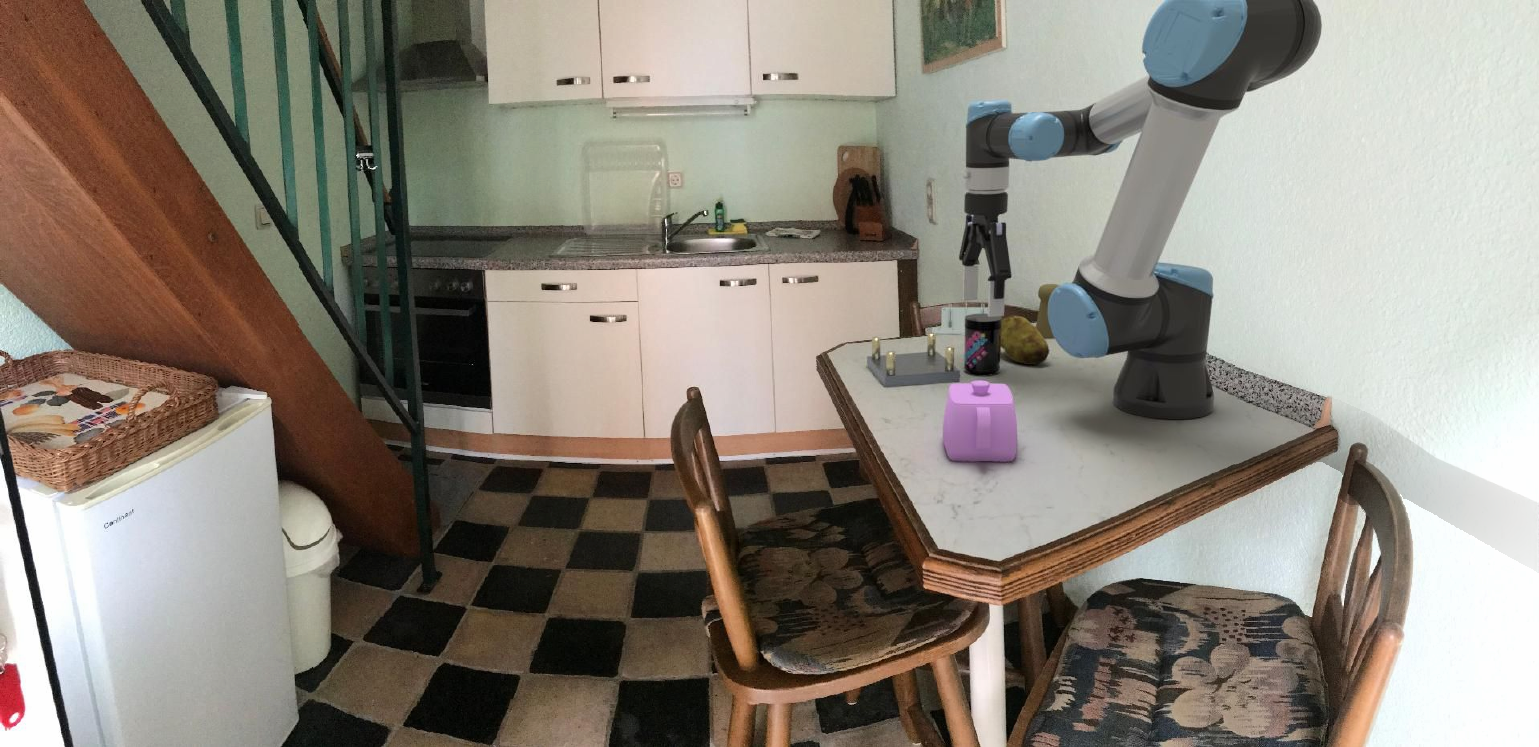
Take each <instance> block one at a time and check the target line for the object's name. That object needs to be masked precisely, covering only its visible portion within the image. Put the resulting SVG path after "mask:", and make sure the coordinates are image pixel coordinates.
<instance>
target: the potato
mask: <svg viewBox="0 0 1539 747" xmlns="http://www.w3.org/2000/svg"><path fill="white" fill-rule="evenodd" d="M1001 348H1002V349H1003V350H1004V353H1005V354H1006V356H1007V357H1008V358H1009V359H1010V360H1011V361H1014V362H1017V363H1019V364H1020V363H1021V364H1024V365H1025V364H1028V365H1039V364H1041V363H1042V362H1044V361H1046V360H1047V358H1048V355H1049V354H1050V349H1049V345H1048V342H1047V341H1046V338H1043V336H1042V335H1041V333H1040V331H1039V330H1038V329H1037V328H1036V325H1034V324H1032V323H1031V322H1030V321H1029V320H1028V319H1027V318H1025V317H1023V316H1020V315H1009V316H1006V317H1005V318H1002V327H1001Z"/></svg>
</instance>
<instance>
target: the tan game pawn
mask: <svg viewBox="0 0 1539 747" xmlns="http://www.w3.org/2000/svg"><path fill="white" fill-rule="evenodd" d="M1058 286H1061V285H1060V284H1055V283H1047V284H1042V285H1041V286H1039V287H1038V292H1037V295H1038V298H1039V300H1040V301H1039V308H1038V312H1037V318H1036V325H1035V327H1036V328H1037V329H1038V330H1039V331H1040V333H1041V335H1042V336H1043V338H1044V339H1046V340H1047V339H1049V340H1050V339H1051V340H1052V339H1053V340H1054V339H1055V338H1054V336H1053V334H1052V331H1051V327H1050V325H1049V321H1048V302H1049V298H1050V296H1051V294H1052V292H1053V291H1054V290H1055V289H1056V288H1057V287H1058Z"/></svg>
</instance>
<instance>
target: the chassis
mask: <svg viewBox="0 0 1539 747" xmlns="http://www.w3.org/2000/svg"><path fill="white" fill-rule="evenodd" d="M936 336H937V335H936V333H932V332H928V333H927V336H926V337H927V344H926V345H927V347H926V348H927V349H926V351H923V352H922V351H921V352H911V353H910V352H909V353H907V352H906V353H896V351H894V350H893V351H891V350H890V351H889V350H888V351H886V353H885V354H883V355H882V354H881V337H880V336H873V337H872V338H871V355H869V356H866V367H867V369H868V370H870V372H871V373H872V374H873V375H874V377H876V379H877V380H878V381H879V382H880V383H881V385H882V386H884V388H891V387H902V386H903V387H904V386H915V385H927V384H940V383H952V382H960V380H961V370H960V369H958V368H957V366H955V347H953V346H946V347H945V348H944V351H945V352H944V356H943V355H942V354H941V353H939V352H938V351H937V350H936V349H937V348H936V346H937V337H936Z"/></svg>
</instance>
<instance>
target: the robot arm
mask: <svg viewBox="0 0 1539 747" xmlns="http://www.w3.org/2000/svg"><path fill="white" fill-rule="evenodd" d="M1322 27H1323V24H1322V15H1321V12H1320V10H1319V7H1318V5H1317V4H1316V3H1315V1H1314V0H1164V1H1163V2H1162V3H1161V4H1160V5H1159V6H1158V8H1156V10H1155V12H1154V13H1153V15H1152V17H1151V18H1150V20H1149V21H1148V24H1147V27H1146V29H1145V32H1144V35H1143V38H1142V39H1143V40H1142V44H1141V45H1142V46H1141V52H1142V54H1144V55H1145V57H1143V60H1142V63H1143V66H1144V69H1145V71H1146V73H1147V75H1146V76H1144V77H1142V78H1139V79H1138V80H1136V81H1134V82H1132V83H1131V84H1129V85H1127V86H1125V87H1123V88H1120V89H1119V90H1117V91H1115V92H1113V93H1111V94H1109V95H1107V96H1105V97H1104V98H1101V99H1099V100H1098V101H1097V102H1094V103H1091V104H1090V105H1089V106H1086V107H1085V108H1081V109H1074V110H1073V109H1071V110H1070V109H1069V110H1058V111H1055V110H1054V111H1038V112H1037V111H1033V112H1030V111H1029V112H1013V110H1012V103H1011V102H1010V101H1009V100H982V101H980V100H979V101H972V102H971V103H970V104H969V105H968V107H967V114H966V115H967V116H966V117H967V118H966V123H965V129H966V130H965V172H964V173H962V178H963V179H964V180H965V181H964V182H965V185H964V188H965V189H966V190H967V192H966V193H965V194H964V210H963V211H964V213H965V214H966V215H965V227H964V229H963V230H964V231H963V234H962V235H963V236H962V241H961V246H960V250H959V253H958V254H959V255H958V260H959V261H961V264H962V266H963V268H962V269H963V270H962V301H978V292H979V291H978V290H979V288H978V287H979V284H978V283H979V265H980V264H981V263H980V260H979V257H980V255H981V252H982V250H983V249H984V254H985V256H986V261H987V265H988V268H989V274H990V275H989V276H988V278H987V281H988V295H987V296H988V299H987V301H988V302H987V307H988V316H989V317H994V316H1001V317H1004V316H1005V299H1006V298H1005V297H1006V281H1007V280H1008V279H1012V268H1011V267H1012V266H1011V261H1010V254H1009V247H1008V238H1007V223H1006V222H1004V221H1003V222H999V216H1000V215H1004V214H1006V213H1007V212H1008V204H1009V203H1008V201H1009V194H1008V192H1007V191H1006V190H1007V189H1009V185H1010V184H1009V183H1010V159H1011V160H1012V159H1013V160H1020V161H1021V160H1023V161H1026V162H1030V163H1031V162H1041V161H1047V160H1049V159H1052V158H1063V157H1077V156H1078V157H1079V156H1100V155H1102V154H1108V153H1112V152H1114V151H1116V150H1117V149H1118V148H1119V147H1120V145H1121V144H1122V143H1123V142H1124V141H1125V140H1126V139H1128V138H1130V137H1133V136H1135V135H1137V134H1139V137H1138V140H1137V143H1136V145H1135V148H1134V149H1133V153H1132V155H1131V158H1130V160H1129V163H1128V165H1127V169H1126V172H1125V174H1124V176H1123V179H1122V181H1121V184H1120V187H1119V190H1118V191H1117V195H1116V198H1115V200H1114V202H1113V205H1112V207H1111V210H1110V213H1109V216H1108V218H1107V221H1106V223H1105V226H1104V227H1103V228H1104V229H1103V231H1102V234H1101V236H1100V239H1099V241H1098V245H1097V246H1096V250H1095V252H1094V253H1093V254H1090V255H1088V256H1086V257H1084V258H1083V259H1082V260H1080V262H1079V263H1078V264H1079V265H1078V267H1077V270H1076V272H1075V275H1074V278H1073V281H1072V282H1068V281H1067V282H1064V283H1062V284H1061V285H1060V286H1058V287H1057V288H1056V289H1055V290H1054V291H1053V292H1052V294H1051V296H1050V298H1049V302H1048V321H1049V325H1050V327H1051V331H1052V334H1053V336H1054V338H1055V341H1056V343H1057V345H1058V346H1060V348H1061V349H1062V350H1063V351H1064V352H1066V354H1068V355H1069V356H1071V357H1075V358H1078V359H1089V358H1095V359H1096V358H1097V359H1099V358H1102V357H1105V356H1110V355H1115V354H1119V353H1127V354H1126V358H1125V361H1124V363H1123V365H1122V367H1121V369H1120V372H1119V374H1118V376H1117V379H1116V381H1115V384H1114V386H1113V389H1112V390H1113V391H1112V403H1113V405H1114V406H1115V407H1117V408H1119V409H1120V410H1122V411H1124V412H1128V413H1130V414H1134V415H1138V416H1142V417H1148V418H1153V419H1163V420H1187V419H1196V418H1201V417H1205V416H1208V415H1209V414H1211V413H1213V411H1214V406H1215V405H1214V403H1215V393H1214V389H1213V385H1212V382H1211V378H1210V375H1209V374H1210V373H1209V369H1208V367H1207V353H1208V351H1207V350H1208V341H1209V334H1210V333H1209V332H1210V323H1211V314H1212V306H1213V299H1214V291H1213V289H1214V288H1213V287H1214V278H1213V275H1212V273H1211V272H1210V271H1209V270H1207V269H1206V268H1201V267H1198V266H1193V265H1185V264H1179V263H1178V264H1177V263H1168V262H1160V258H1161V256H1162V254H1163V251H1164V249H1165V247H1166V245H1167V242H1168V240H1169V237H1170V236H1171V233H1172V231H1173V228H1174V226H1175V224H1176V221H1177V219H1178V217H1179V214H1180V212H1181V210H1182V207H1183V206H1184V203H1185V201H1186V198H1187V195H1188V194H1189V191H1190V190H1191V186H1192V184H1193V182H1194V180H1195V177H1196V175H1197V173H1198V170H1199V169H1200V166H1201V163H1202V162H1203V159H1204V157H1205V154H1206V152H1207V151H1208V148H1209V145H1210V143H1211V141H1212V138H1213V137H1214V134H1215V131H1216V129H1217V127H1218V125H1219V122H1220V120H1221V118H1223V117H1224V116H1226V115H1228V114H1231V113H1234V112H1235V111H1237V110H1238V109H1239V107H1240V106H1241V103H1242V101H1243V99H1244V96H1245V94H1246V93H1250V92H1251V93H1252V92H1253V91H1256V90H1258V89H1260V88H1263V87H1265V86H1267V85H1270V84H1272V83H1275V82H1278V81H1280V80H1283V79H1285V78H1287V77H1288V76H1290V75H1293V74H1294V73H1296V72H1297V71H1298V70H1300V68H1302V67H1303V66H1304V65H1306V63H1307V62H1308V61H1309V60H1310V59H1311V57H1312V56H1313V55H1314V53H1315V51H1316V49H1317V47H1318V45H1319V42H1320V40H1321V36H1322Z"/></svg>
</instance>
